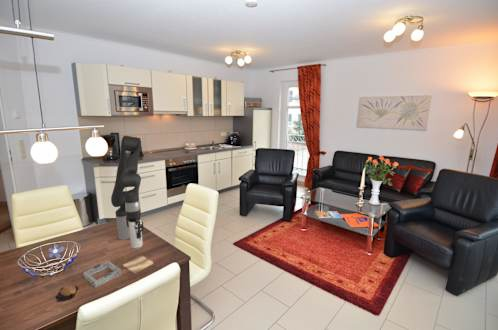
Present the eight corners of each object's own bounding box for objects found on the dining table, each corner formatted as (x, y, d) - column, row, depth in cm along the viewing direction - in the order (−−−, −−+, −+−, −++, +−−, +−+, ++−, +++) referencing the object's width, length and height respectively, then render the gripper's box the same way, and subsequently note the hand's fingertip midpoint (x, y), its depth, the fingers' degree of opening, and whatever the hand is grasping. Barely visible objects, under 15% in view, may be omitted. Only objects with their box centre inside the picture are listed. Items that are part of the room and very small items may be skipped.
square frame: (84, 277, 137) (83, 270, 136) (109, 265, 148) (108, 259, 147) (95, 287, 130) (94, 280, 129) (121, 274, 140) (120, 267, 139)
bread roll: (60, 290, 129) (59, 283, 128) (79, 285, 132) (78, 279, 131) (53, 304, 119) (52, 297, 118) (75, 299, 122) (74, 292, 121)
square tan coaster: (122, 266, 147) (122, 264, 147) (141, 256, 157) (141, 255, 157) (134, 274, 141) (133, 272, 140) (153, 263, 150) (153, 262, 150)
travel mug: (130, 245, 148) (126, 213, 143) (142, 242, 151) (139, 211, 146) (130, 250, 142) (127, 217, 138) (143, 247, 145) (140, 215, 141)
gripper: (146, 209, 140) (148, 237, 144) (132, 204, 148) (134, 230, 152) (133, 214, 134) (136, 242, 138) (119, 207, 142) (122, 235, 146)
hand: (135, 236), depth 145 cm, fingers closed on travel mug, 6 cm apart
